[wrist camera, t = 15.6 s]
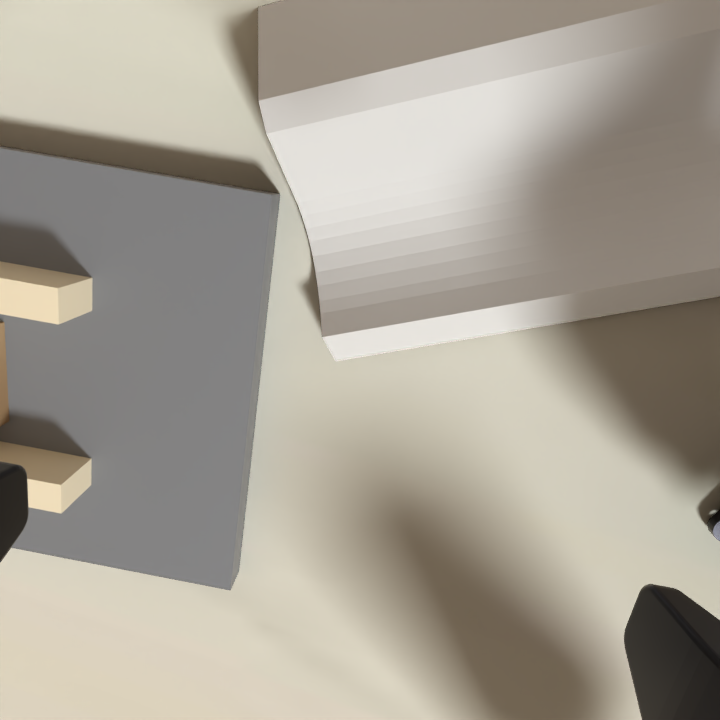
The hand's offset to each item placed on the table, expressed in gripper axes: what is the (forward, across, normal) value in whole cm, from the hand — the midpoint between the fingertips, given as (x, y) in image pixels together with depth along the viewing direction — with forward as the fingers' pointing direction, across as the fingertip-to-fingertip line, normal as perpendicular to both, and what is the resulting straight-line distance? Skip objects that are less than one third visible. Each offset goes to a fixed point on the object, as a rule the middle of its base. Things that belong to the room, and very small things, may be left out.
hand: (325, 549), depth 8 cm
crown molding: (+14, -11, -10) cm, 20 cm away
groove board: (+13, +15, +4) cm, 20 cm away
